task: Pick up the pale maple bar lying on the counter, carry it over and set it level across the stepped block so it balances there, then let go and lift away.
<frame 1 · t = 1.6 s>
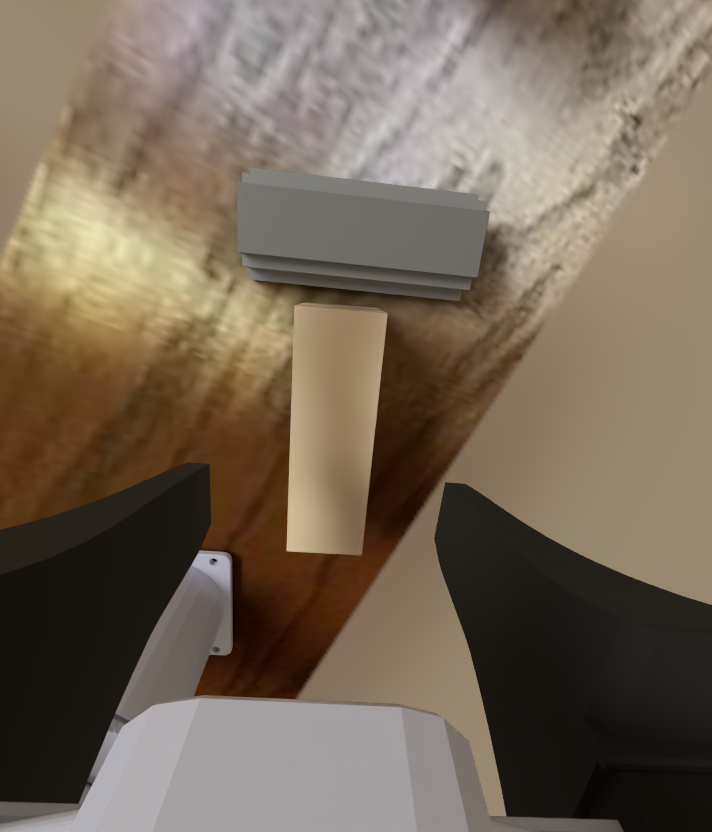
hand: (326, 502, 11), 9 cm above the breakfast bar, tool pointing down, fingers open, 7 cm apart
stepped block: (360, 240, 18), on the breakfast bar
bar: (335, 409, 21), on the breakfast bar
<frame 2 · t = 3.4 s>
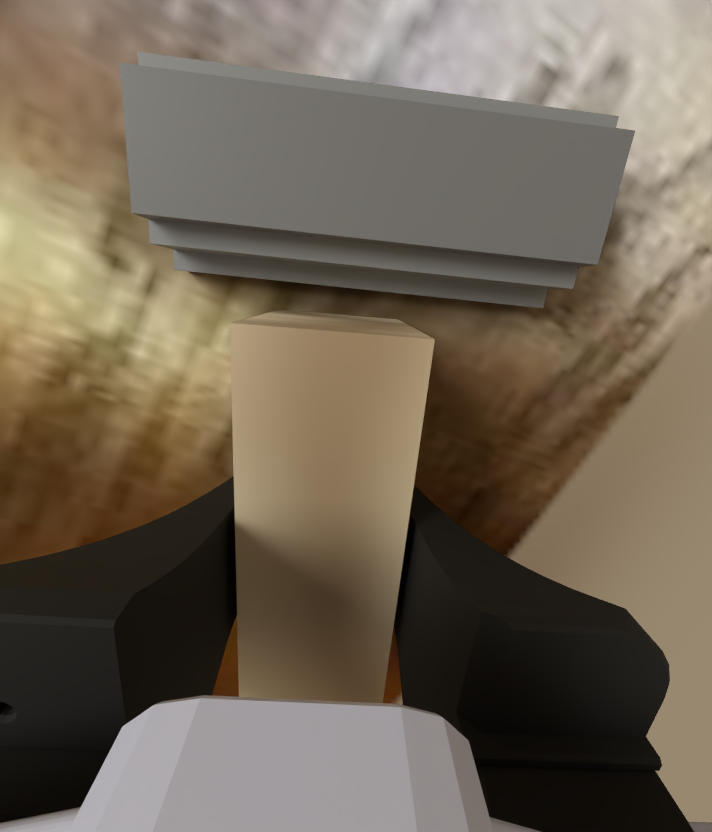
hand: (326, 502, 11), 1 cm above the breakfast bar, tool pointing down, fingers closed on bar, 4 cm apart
stepped block: (371, 202, 10), on the breakfast bar
bar: (328, 479, 13), on the breakfast bar, touching gripper
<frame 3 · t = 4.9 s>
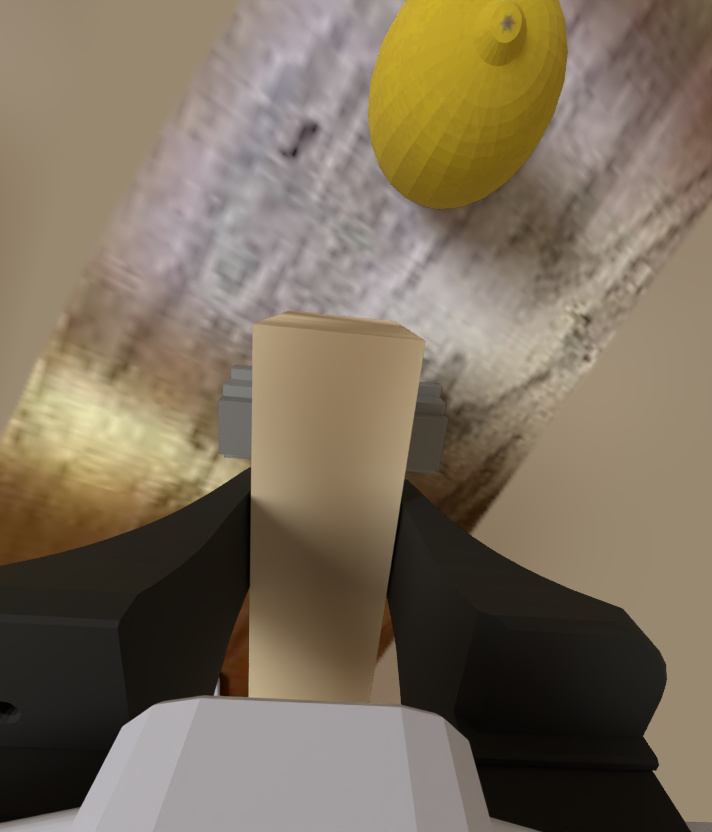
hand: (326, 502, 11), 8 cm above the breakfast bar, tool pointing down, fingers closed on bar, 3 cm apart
lemon: (428, 153, 16), on the breakfast bar
stepped block: (334, 417, 19), on the breakfast bar
bar: (330, 467, 14), point 5 cm above the breakfast bar, touching gripper
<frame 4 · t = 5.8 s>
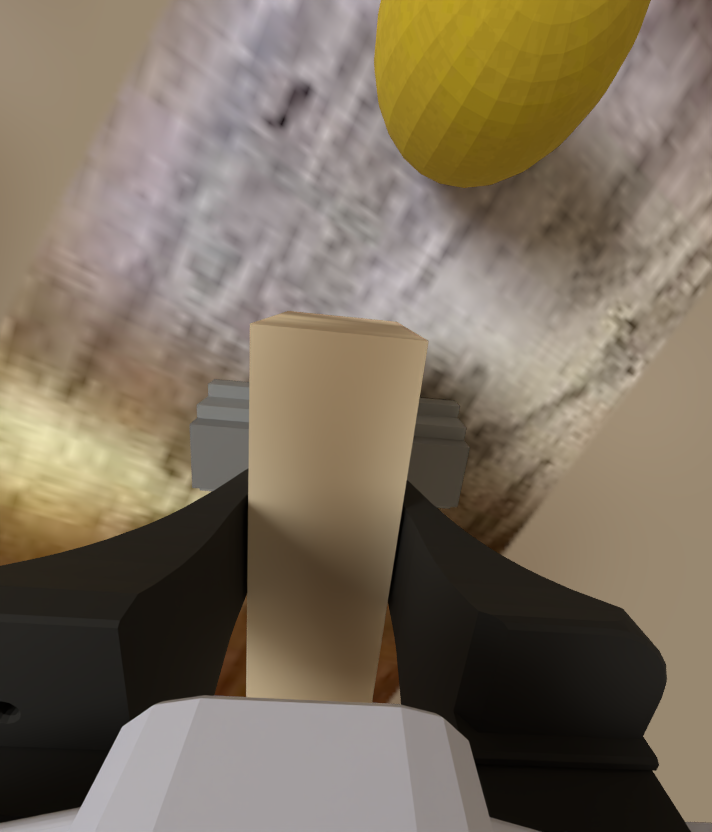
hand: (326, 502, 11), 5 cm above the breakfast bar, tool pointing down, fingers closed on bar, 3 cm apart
lemon: (446, 123, 13), on the breakfast bar
stepped block: (332, 440, 16), on the breakfast bar
bar: (329, 470, 14), point 3 cm above the breakfast bar, touching gripper, stepped block
when the fingers open (5 cm above the breakfast bar, at t = 6.1 s): bar stays where it is, resting on stepped block.
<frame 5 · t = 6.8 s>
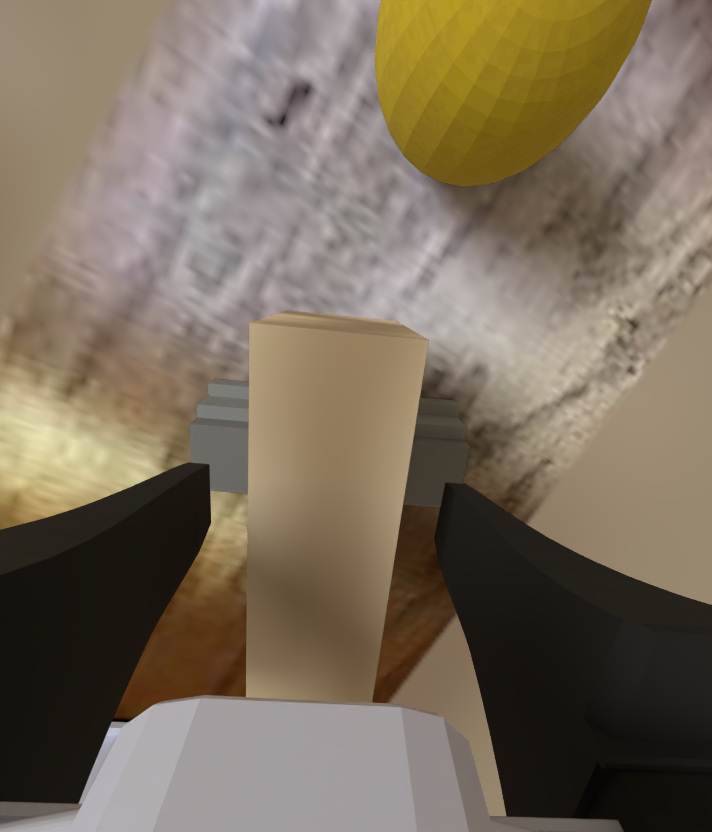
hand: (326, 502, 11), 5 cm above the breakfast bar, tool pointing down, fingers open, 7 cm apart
lemon: (447, 122, 13), on the breakfast bar
stepped block: (332, 439, 16), on the breakfast bar
bar: (329, 470, 14), point 3 cm above the breakfast bar, touching stepped block
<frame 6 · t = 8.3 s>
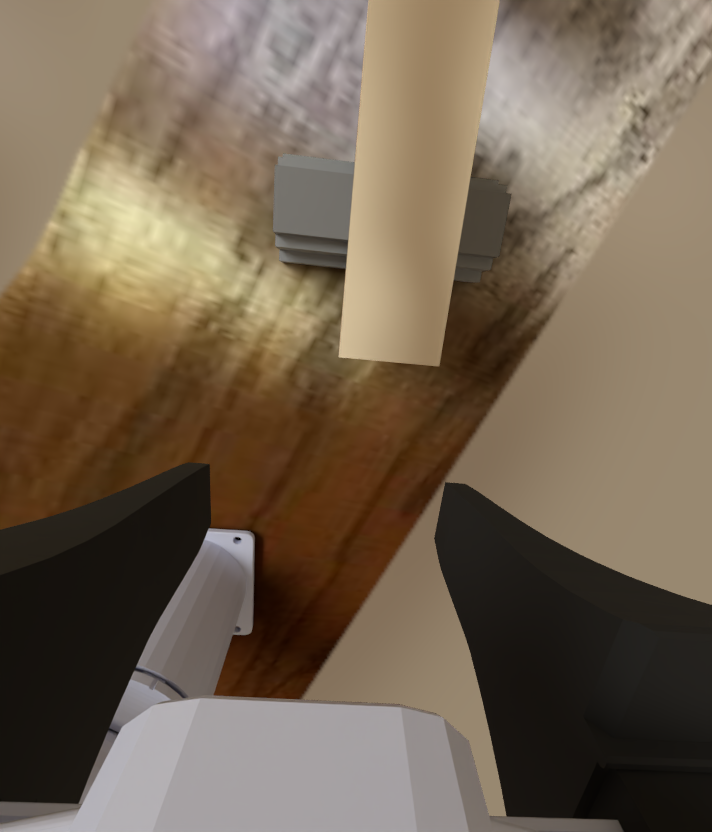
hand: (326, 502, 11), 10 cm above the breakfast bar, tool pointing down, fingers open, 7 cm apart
stepped block: (384, 224, 19), on the breakfast bar
bar: (391, 215, 16), point 3 cm above the breakfast bar, touching stepped block
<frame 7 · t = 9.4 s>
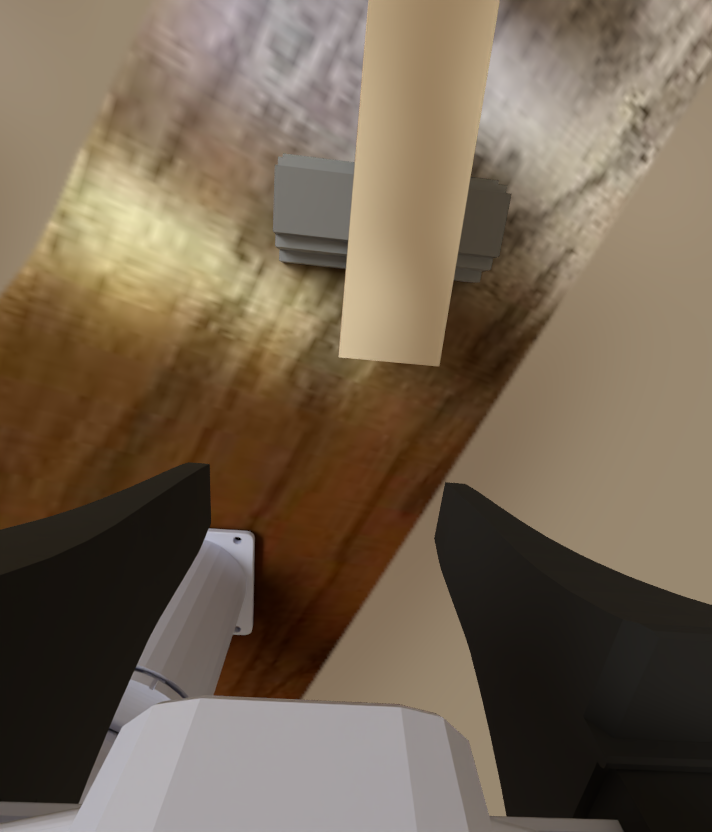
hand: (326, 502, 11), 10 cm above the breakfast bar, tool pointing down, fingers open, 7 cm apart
stepped block: (384, 224, 19), on the breakfast bar
bar: (391, 215, 16), point 3 cm above the breakfast bar, touching stepped block
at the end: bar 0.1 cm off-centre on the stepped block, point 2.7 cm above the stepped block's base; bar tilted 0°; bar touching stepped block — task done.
